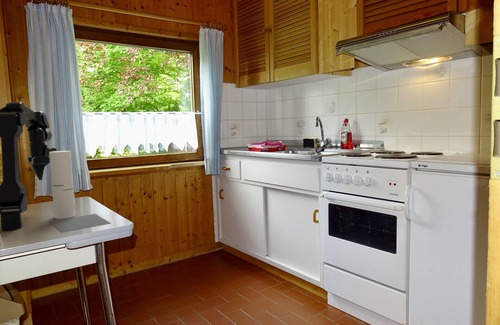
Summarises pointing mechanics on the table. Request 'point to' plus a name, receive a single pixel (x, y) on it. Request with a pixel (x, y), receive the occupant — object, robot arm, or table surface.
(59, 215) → the cylindrical container
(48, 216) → the table surface
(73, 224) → the mat
